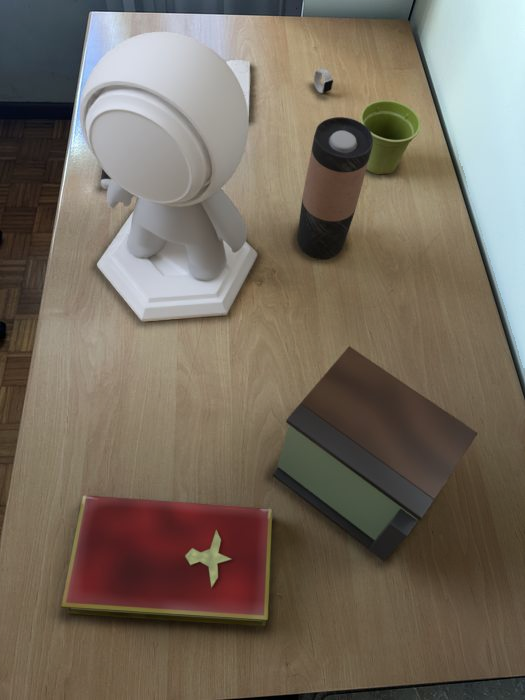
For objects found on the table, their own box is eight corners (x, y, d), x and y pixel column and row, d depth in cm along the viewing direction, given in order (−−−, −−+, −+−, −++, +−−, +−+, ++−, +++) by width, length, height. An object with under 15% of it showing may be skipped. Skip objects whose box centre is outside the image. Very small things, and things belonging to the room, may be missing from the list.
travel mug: (355, 248, 100) (386, 144, 83) (315, 269, 97) (338, 166, 80) (325, 215, 103) (349, 108, 86) (285, 234, 100) (301, 128, 83)
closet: (382, 560, 76) (421, 518, 62) (272, 475, 80) (286, 419, 67) (431, 486, 81) (478, 433, 67) (325, 410, 85) (349, 345, 72)
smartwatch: (310, 85, 119) (313, 66, 115) (320, 82, 120) (323, 62, 116) (321, 97, 117) (325, 78, 114) (331, 94, 118) (335, 75, 115)
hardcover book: (88, 503, 77) (83, 491, 73) (269, 516, 78) (272, 505, 74) (67, 613, 70) (60, 606, 67) (264, 626, 71) (267, 619, 68)
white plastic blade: (218, 119, 112) (218, 114, 111) (222, 63, 120) (222, 58, 119) (248, 121, 112) (249, 115, 112) (250, 65, 120) (250, 60, 119)
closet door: (379, 565, 74) (412, 531, 63) (267, 478, 79) (278, 431, 67) (393, 544, 76) (428, 507, 64) (282, 460, 80) (296, 411, 68)
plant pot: (390, 191, 107) (404, 149, 99) (340, 165, 109) (350, 123, 101) (415, 158, 111) (431, 116, 104) (366, 135, 113) (378, 91, 106)
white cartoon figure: (76, 296, 91) (16, 77, 62) (152, 187, 103) (131, -43, 73) (209, 347, 89) (213, 144, 59) (271, 229, 101) (300, 9, 71)
